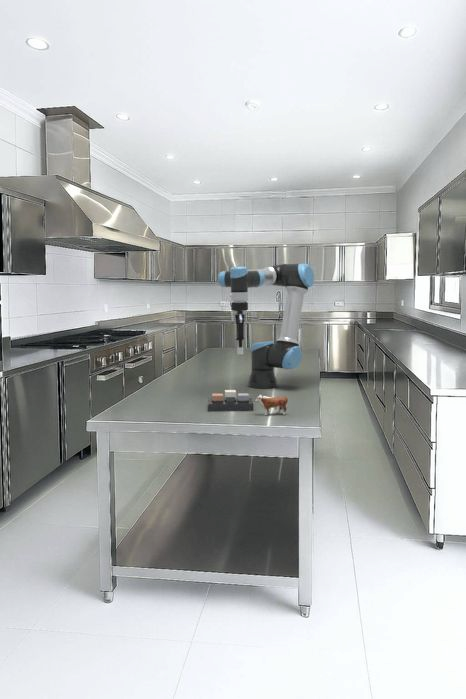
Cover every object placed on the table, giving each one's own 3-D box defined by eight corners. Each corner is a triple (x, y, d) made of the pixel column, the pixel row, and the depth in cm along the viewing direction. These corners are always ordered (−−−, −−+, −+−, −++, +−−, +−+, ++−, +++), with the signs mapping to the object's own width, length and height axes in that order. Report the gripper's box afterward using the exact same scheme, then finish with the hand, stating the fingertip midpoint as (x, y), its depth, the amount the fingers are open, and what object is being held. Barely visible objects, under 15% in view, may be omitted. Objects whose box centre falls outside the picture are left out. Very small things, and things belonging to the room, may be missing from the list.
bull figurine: (254, 413, 229) (254, 394, 228) (286, 412, 230) (287, 393, 229) (255, 416, 224) (256, 396, 223) (288, 415, 225) (288, 395, 224)
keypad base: (251, 404, 245) (251, 398, 244) (253, 410, 233) (253, 404, 232) (208, 404, 244) (208, 398, 244) (208, 411, 232) (208, 404, 232)
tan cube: (222, 405, 240) (222, 393, 240) (223, 407, 236) (223, 395, 235) (212, 405, 240) (212, 393, 240) (212, 407, 236) (212, 395, 235)
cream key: (235, 401, 240) (235, 389, 240) (235, 404, 236) (236, 392, 235) (224, 401, 240) (224, 390, 240) (225, 404, 236) (225, 392, 235)
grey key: (248, 405, 241) (248, 393, 240) (248, 407, 236) (248, 395, 236) (237, 405, 241) (237, 393, 240) (238, 407, 236) (238, 395, 235)
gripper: (230, 301, 252) (231, 352, 256) (232, 302, 239) (233, 356, 243) (246, 300, 252) (247, 351, 256) (249, 302, 240) (250, 356, 243)
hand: (240, 354), depth 249 cm, fingers closed
